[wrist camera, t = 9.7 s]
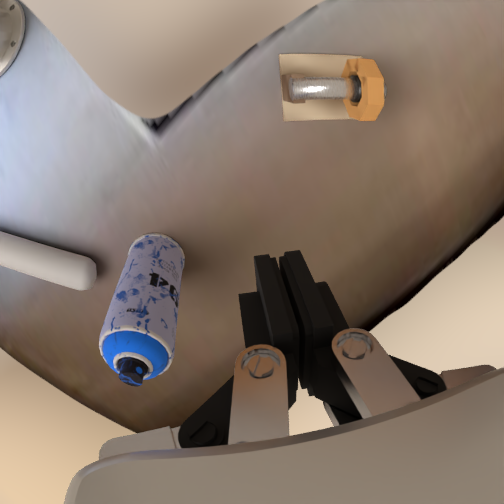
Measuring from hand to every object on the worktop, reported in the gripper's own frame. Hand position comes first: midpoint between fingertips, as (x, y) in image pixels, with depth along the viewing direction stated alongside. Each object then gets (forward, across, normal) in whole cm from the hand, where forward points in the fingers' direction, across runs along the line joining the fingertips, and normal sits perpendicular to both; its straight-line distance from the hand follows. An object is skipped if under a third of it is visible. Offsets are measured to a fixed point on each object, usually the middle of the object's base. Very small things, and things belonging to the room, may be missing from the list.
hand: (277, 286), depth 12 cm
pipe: (+24, -11, -6) cm, 27 cm away
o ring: (+25, -14, -6) cm, 29 cm away
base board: (+27, -11, -6) cm, 30 cm away
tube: (+28, +32, +9) cm, 43 cm away
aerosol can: (+27, +12, +14) cm, 33 cm away
